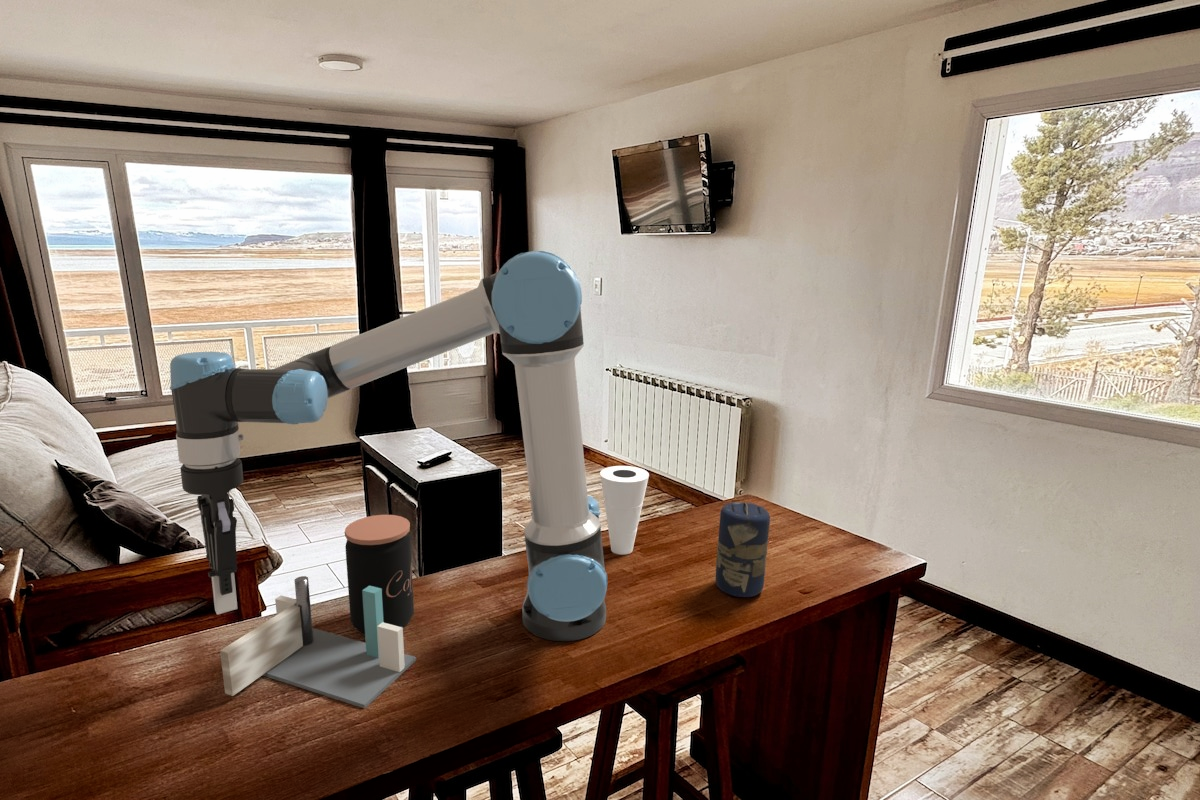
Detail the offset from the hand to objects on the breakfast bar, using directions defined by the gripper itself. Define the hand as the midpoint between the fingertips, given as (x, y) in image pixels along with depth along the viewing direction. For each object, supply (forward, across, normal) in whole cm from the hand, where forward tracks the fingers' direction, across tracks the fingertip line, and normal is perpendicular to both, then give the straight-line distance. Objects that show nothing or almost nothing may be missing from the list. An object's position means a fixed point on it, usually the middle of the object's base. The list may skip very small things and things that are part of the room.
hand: (226, 609), depth 96 cm
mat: (+10, -7, -12) cm, 17 cm away
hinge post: (+11, 0, -11) cm, 15 cm away
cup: (+10, -8, -76) cm, 77 cm away
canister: (+10, -35, -82) cm, 90 cm away
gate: (+10, -4, -4) cm, 11 cm away
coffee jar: (+11, -1, -24) cm, 26 cm away
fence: (+10, -6, -14) cm, 18 cm away
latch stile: (+10, -10, -18) cm, 24 cm away
